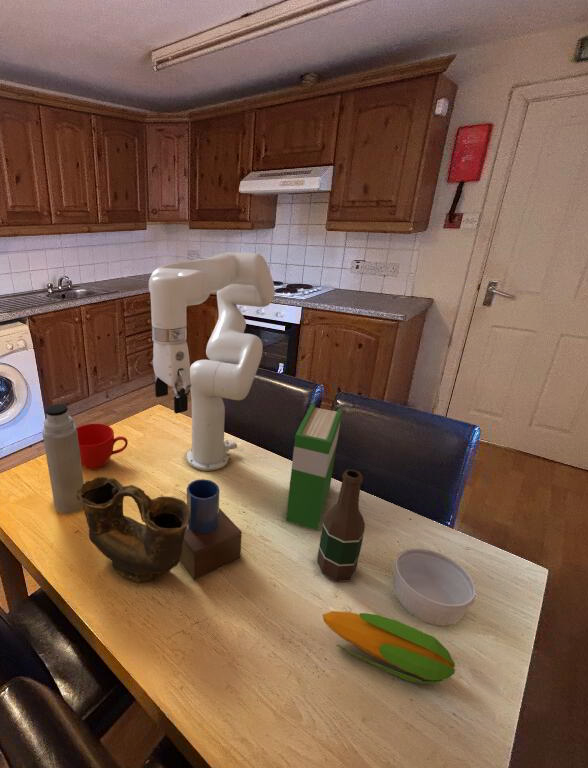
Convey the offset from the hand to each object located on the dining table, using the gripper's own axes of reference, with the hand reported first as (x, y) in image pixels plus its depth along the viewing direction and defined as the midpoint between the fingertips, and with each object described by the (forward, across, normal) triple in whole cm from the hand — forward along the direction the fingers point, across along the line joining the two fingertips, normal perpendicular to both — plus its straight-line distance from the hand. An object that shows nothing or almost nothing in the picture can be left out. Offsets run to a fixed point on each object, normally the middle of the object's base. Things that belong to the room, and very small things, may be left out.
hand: (171, 403), depth 97 cm
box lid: (+21, -18, +2) cm, 28 cm away
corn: (+28, -53, -12) cm, 61 cm away
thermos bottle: (+28, +12, +24) cm, 39 cm away
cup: (+21, -18, +2) cm, 28 cm away
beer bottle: (+28, -36, -20) cm, 50 cm away
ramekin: (+28, -50, -29) cm, 64 cm away
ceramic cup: (+28, +26, +11) cm, 40 cm away
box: (+28, -18, +2) cm, 34 cm away
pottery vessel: (+28, -15, +17) cm, 36 cm away
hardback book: (+28, -18, -30) cm, 45 cm away
